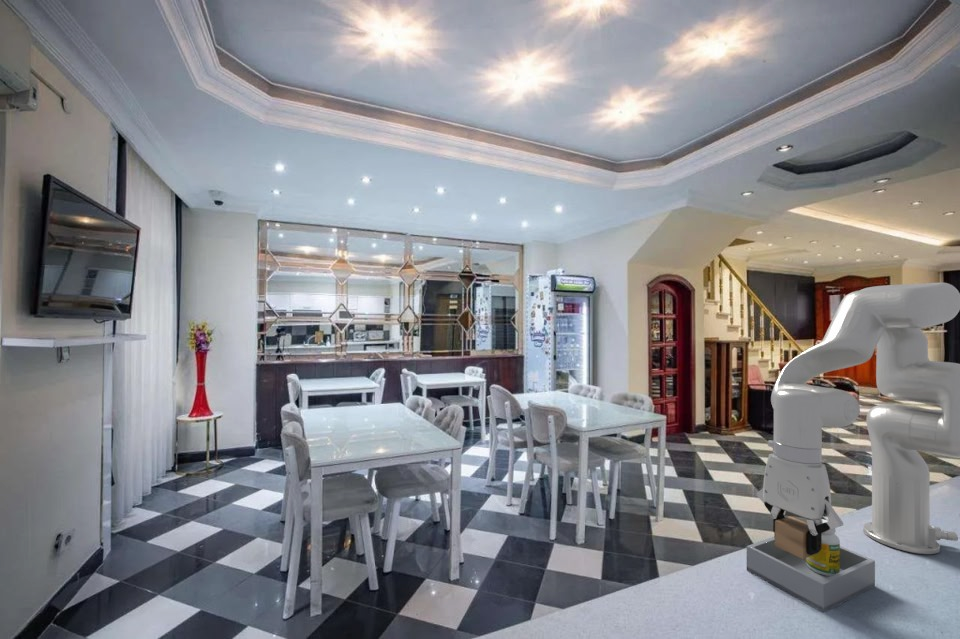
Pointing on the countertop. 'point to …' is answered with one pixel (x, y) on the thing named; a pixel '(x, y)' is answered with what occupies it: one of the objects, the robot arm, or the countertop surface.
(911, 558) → the countertop surface
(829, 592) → the tote
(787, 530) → the walnut cube
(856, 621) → the countertop surface
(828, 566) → the supplement bottle
